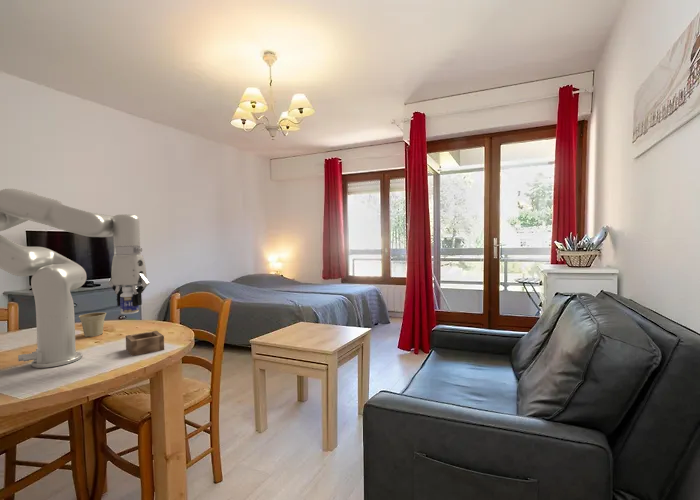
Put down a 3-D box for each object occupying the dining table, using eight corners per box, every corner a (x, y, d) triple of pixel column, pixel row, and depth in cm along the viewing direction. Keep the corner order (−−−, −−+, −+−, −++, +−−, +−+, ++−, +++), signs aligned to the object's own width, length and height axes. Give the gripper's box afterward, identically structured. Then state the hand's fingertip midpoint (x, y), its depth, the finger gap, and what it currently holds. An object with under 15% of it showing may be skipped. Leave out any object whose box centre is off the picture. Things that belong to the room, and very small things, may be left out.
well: (132, 356, 120) (131, 341, 120) (126, 349, 127) (125, 335, 127) (164, 349, 126) (163, 335, 126) (156, 343, 134) (156, 330, 134)
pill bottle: (123, 315, 115) (122, 288, 115) (118, 313, 119) (117, 286, 118) (141, 312, 119) (140, 286, 119) (135, 310, 123) (134, 285, 123)
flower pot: (73, 337, 144) (72, 316, 144) (96, 331, 153) (95, 311, 153) (90, 338, 142) (89, 317, 141) (112, 332, 151) (111, 312, 150)
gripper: (157, 250, 120) (159, 303, 121) (115, 251, 124) (117, 303, 124) (140, 251, 113) (143, 308, 114) (96, 252, 116) (98, 307, 117)
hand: (129, 304), depth 119 cm, fingers closed on pill bottle, 5 cm apart
